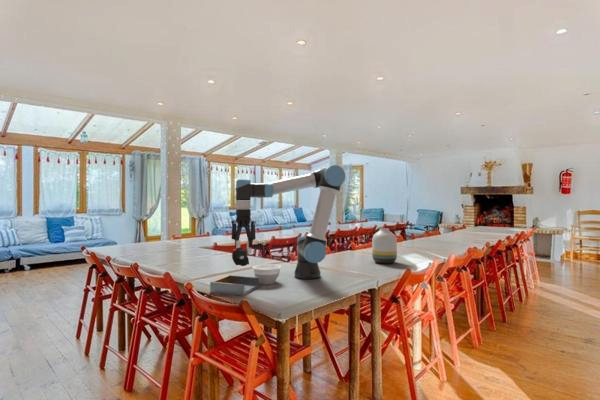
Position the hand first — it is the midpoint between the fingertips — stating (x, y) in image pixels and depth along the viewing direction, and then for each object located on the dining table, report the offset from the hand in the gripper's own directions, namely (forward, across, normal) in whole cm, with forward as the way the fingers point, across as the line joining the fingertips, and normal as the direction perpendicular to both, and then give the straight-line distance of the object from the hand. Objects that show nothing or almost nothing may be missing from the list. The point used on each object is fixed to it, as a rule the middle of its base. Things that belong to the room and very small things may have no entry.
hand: (243, 253), depth 181 cm
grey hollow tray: (+17, -1, +9) cm, 19 cm away
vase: (+17, -58, -93) cm, 111 cm away
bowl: (+17, -8, -10) cm, 22 cm away
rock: (+3, +1, 0) cm, 3 cm away
